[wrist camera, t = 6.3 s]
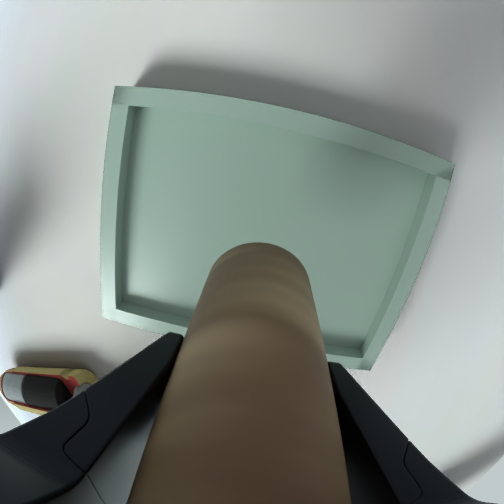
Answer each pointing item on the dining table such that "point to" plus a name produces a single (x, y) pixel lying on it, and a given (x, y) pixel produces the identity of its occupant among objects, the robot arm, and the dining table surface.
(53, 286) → the dining table surface
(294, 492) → the dowel
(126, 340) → the dining table surface
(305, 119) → the tray
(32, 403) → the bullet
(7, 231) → the dining table surface
